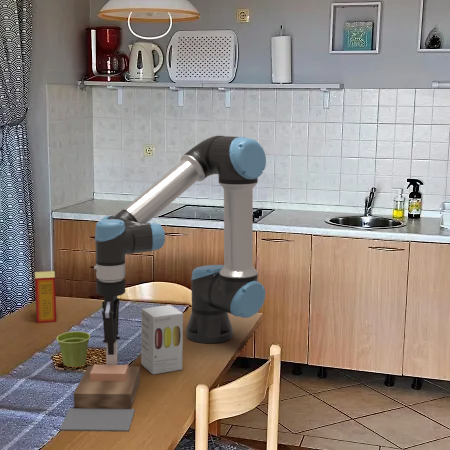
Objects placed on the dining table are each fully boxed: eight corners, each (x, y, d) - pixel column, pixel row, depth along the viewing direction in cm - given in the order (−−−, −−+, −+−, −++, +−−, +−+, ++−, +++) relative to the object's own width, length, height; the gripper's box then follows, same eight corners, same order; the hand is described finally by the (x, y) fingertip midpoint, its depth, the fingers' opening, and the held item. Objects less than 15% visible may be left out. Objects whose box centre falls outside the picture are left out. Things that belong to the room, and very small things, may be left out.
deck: (140, 380, 189) (139, 366, 188) (131, 409, 171) (130, 394, 170) (88, 379, 189) (88, 365, 188) (74, 408, 171) (73, 393, 170)
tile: (128, 372, 184) (128, 364, 184) (125, 381, 178) (125, 373, 178) (94, 371, 184) (94, 364, 184) (90, 380, 178) (90, 373, 178)
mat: (134, 410, 171) (134, 408, 171) (128, 431, 160) (128, 429, 160) (69, 409, 171) (69, 408, 171) (59, 430, 160) (59, 429, 160)
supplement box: (152, 375, 192) (151, 317, 189) (140, 364, 200) (139, 308, 197) (183, 369, 197) (183, 312, 194) (170, 358, 205) (170, 303, 202)
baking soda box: (36, 314, 244) (35, 270, 242) (55, 313, 246) (54, 269, 243) (36, 323, 235) (34, 277, 233) (56, 321, 237) (54, 276, 234)
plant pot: (74, 374, 192) (74, 344, 191) (50, 367, 197) (49, 338, 195) (98, 364, 200) (97, 335, 198) (73, 357, 205) (73, 329, 203)
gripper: (100, 272, 188) (102, 355, 192) (91, 285, 175) (93, 373, 179) (128, 273, 188) (129, 355, 192) (121, 285, 175) (122, 374, 179)
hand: (111, 364), depth 185 cm, fingers closed
